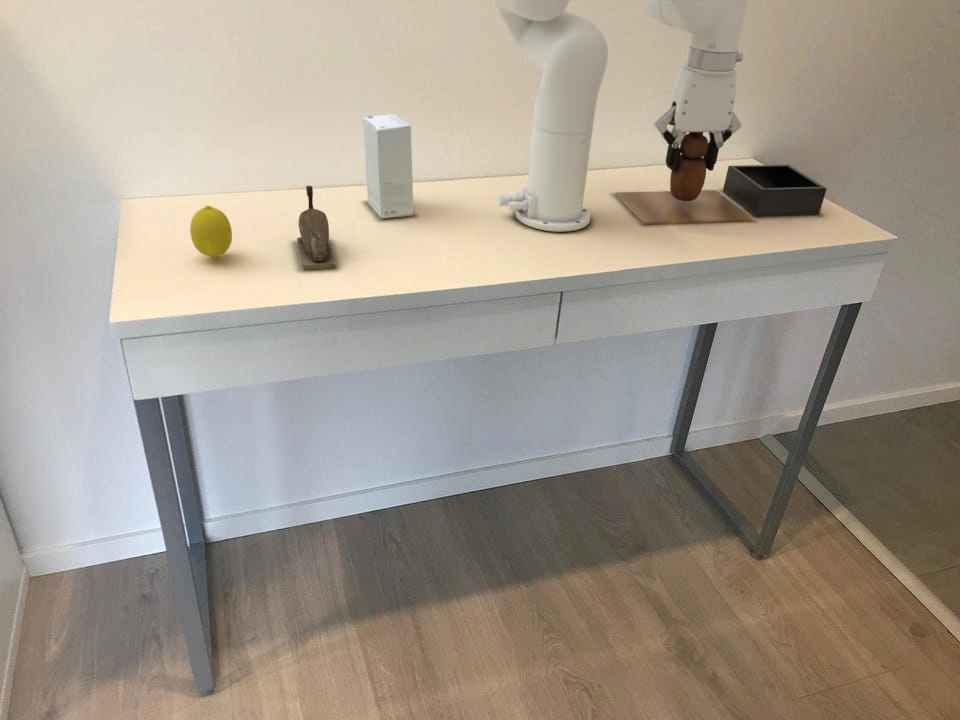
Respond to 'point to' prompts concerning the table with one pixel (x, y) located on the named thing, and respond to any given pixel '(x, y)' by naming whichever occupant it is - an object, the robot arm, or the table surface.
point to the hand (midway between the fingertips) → (689, 167)
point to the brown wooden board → (681, 208)
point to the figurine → (314, 238)
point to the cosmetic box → (389, 165)
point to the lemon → (211, 232)
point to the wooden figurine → (690, 168)
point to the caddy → (774, 190)
